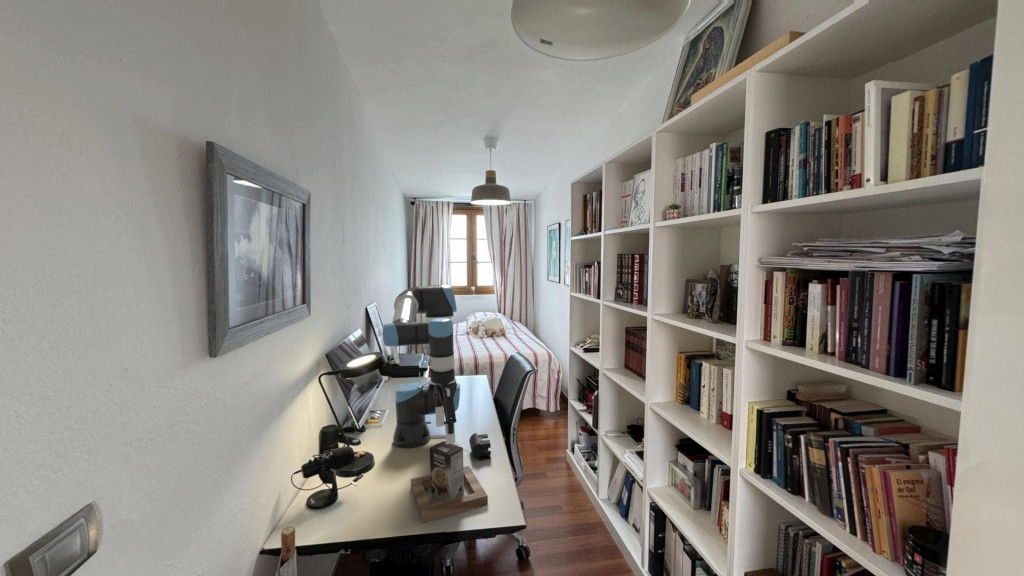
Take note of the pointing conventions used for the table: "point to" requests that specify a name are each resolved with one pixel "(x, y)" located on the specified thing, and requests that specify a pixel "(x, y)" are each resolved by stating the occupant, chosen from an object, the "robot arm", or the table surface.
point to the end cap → (480, 446)
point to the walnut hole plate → (449, 506)
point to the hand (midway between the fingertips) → (445, 434)
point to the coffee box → (446, 471)
